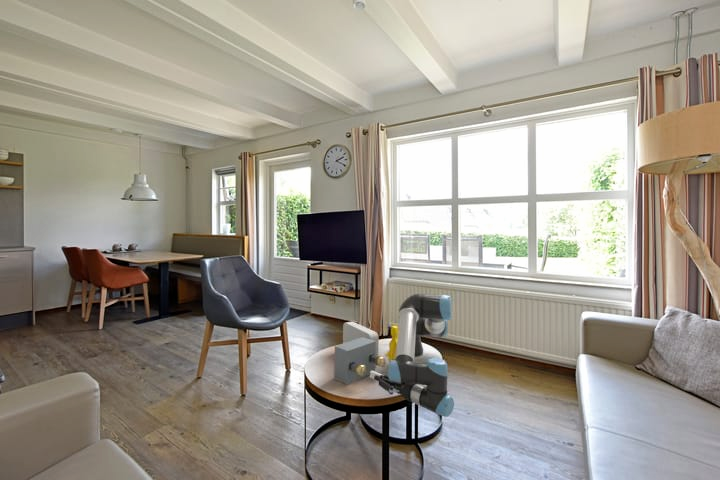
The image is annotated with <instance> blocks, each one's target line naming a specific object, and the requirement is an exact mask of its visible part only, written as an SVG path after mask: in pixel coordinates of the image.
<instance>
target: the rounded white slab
mask: <svg viewBox="0 0 720 480" xmlns="http://www.w3.org/2000/svg"><path fill="white" fill-rule="evenodd" d="M362 337H364V338H367V339H370V340H373V341H376V351H375V356H377V357H378V356H379V334H378V332H377V331H375V330H372V329H370V328H368V327H366V326H364V325H361V324H359V323H356V322H355V321H348V322H344V323H343V325H342V344H343V343H346V342H349V341H352V340H355V339H358V338H362ZM375 366H377V365H376V364H375Z"/></svg>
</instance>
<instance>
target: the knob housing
mask: <svg viewBox="0 0 720 480" xmlns="http://www.w3.org/2000/svg"><path fill="white" fill-rule="evenodd" d="M375 351H376V341H373V340H370V339H367V338H364V337H362V338H358V339H355V340H352V341H349V342H346V343H343V342H342V343H340V344H337V345H334V362H333V363H334V368H333V369H334V373H333V374H334V375H333V376H334V377H333V378H334V380H336V381H339V382H341V383H342V384H345V385H347V386H348V385H349V384H352V383H355V382H357V381H358V380H361V379H363V378H365V377H367V376H370V371H375V372H376V365H375V363H372V362H370V361H369V356H370V355H374V356H375ZM352 362H353V363H356V364H361V365H363V366H365V367H366V373H365V374H364V375H363V376H361V375H358V374H356V373H355V372H354V371H352V370H350V369H349V364H350V363H352Z"/></svg>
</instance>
